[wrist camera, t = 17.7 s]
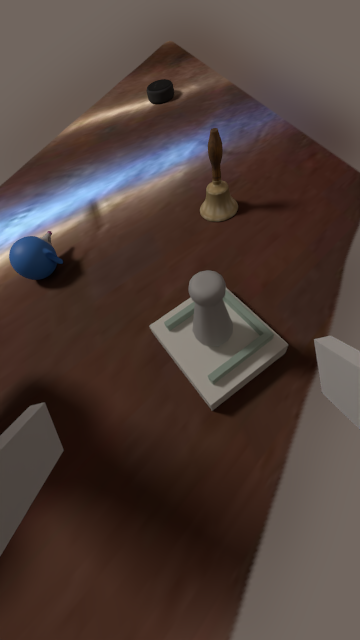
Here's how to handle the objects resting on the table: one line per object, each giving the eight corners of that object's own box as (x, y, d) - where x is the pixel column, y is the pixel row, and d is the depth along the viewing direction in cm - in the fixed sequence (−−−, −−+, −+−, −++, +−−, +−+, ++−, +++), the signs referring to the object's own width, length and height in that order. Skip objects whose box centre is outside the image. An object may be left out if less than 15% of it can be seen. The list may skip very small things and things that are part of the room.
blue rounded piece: (83, 246, 63) (64, 216, 56) (61, 289, 57) (36, 261, 50) (39, 245, 66) (15, 215, 59) (14, 285, 60) (-16, 258, 53)
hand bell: (197, 201, 64) (187, 124, 51) (234, 193, 63) (233, 113, 50) (202, 225, 60) (192, 148, 46) (241, 217, 59) (243, 136, 45)
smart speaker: (163, 90, 99) (161, 76, 95) (179, 95, 94) (177, 81, 91) (144, 102, 97) (140, 88, 93) (159, 107, 92) (156, 93, 89)
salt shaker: (208, 359, 40) (197, 312, 29) (187, 331, 43) (171, 278, 32) (241, 338, 41) (242, 284, 30) (218, 312, 44) (213, 254, 33)
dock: (153, 334, 48) (146, 321, 44) (218, 289, 50) (216, 273, 46) (212, 410, 40) (209, 402, 36) (285, 353, 42) (290, 339, 38)
